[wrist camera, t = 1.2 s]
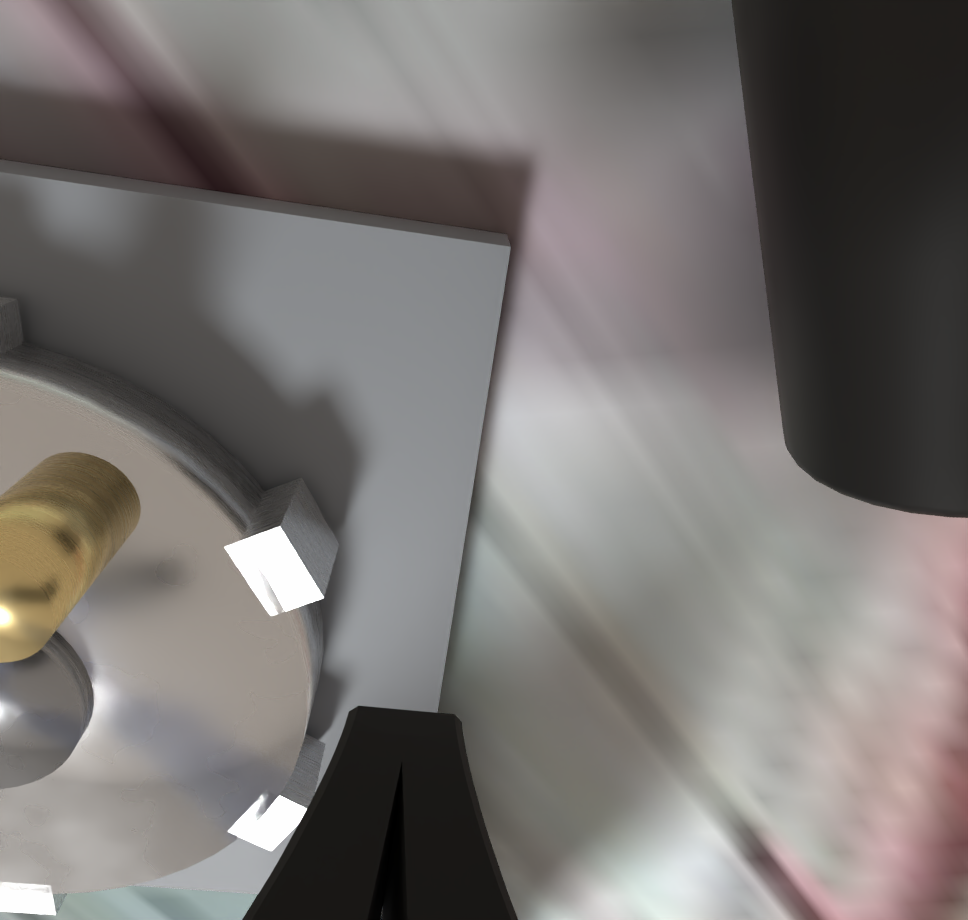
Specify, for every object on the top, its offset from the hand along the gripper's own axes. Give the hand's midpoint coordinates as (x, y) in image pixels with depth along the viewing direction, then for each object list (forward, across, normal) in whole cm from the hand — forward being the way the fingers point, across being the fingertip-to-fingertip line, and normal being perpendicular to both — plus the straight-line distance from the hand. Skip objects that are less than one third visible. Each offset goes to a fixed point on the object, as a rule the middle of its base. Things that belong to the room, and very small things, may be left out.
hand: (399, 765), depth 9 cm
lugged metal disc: (+7, +9, +5) cm, 13 cm away
